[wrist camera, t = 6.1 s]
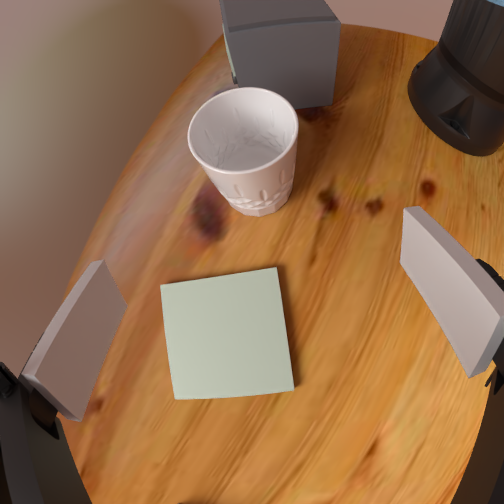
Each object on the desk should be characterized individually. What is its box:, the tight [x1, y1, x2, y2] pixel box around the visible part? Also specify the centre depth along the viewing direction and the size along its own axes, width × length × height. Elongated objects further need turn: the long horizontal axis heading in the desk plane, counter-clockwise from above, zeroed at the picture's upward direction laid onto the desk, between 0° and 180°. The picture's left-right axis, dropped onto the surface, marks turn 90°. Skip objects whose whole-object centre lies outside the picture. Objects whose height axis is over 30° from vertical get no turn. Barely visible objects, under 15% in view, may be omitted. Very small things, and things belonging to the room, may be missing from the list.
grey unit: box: [220, 0, 341, 109], centre depth 26 cm, size 11×8×13 cm
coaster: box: [160, 267, 294, 399], centre depth 26 cm, size 11×11×1 cm
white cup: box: [188, 87, 299, 217], centre depth 24 cm, size 8×8×10 cm
